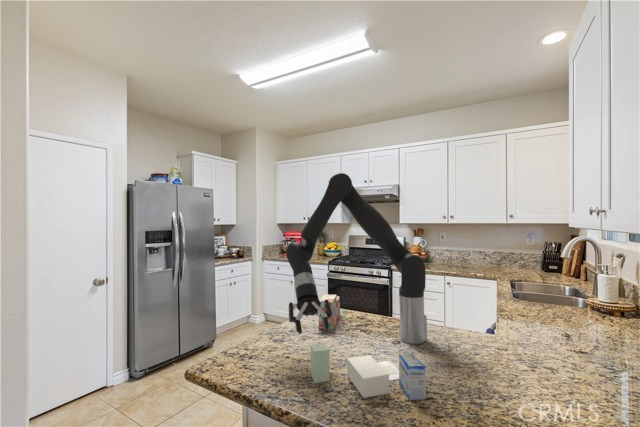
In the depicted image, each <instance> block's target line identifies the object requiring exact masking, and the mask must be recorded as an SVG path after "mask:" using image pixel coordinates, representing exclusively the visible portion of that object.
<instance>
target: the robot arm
mask: <svg viewBox="0 0 640 427" xmlns="http://www.w3.org/2000/svg"><path fill="white" fill-rule="evenodd" d="M340 203H342V204H343V205H344V206H345V207H346V208H347V210H348V211H349V212H350V213H351V215H352V217H353V218H354V219H355V221H356V222H357V224H358V225H359V226H360V227H361V229H362V230H363V231H364V232H365V233H366V235H367V236H368V237H369V238H370V239H371V240H372V241H373V242H374V243H375V244H376V245H377V246H378V248H380V249H381V250H382V251H384V253H385V254H386V256H388V258H389V259H390V260H391V262H392V263H393V265H394V266H395V268H396V269H397V271H398V272H399V273H400V274H401V276H400V277H401V283H400V286H399V289H398V291H399V292H398V296H399V298H398V299H399V335H400V336H399V337H400V338H399V339H400V340H401V341H402V342H403V343H406V344H410V345H411V344H412V345H420V344H423V343H425V342H427V341H428V323H427V322H428V317H427V315H426V314H425V295H424V294H425V289H426V281H427V280H426V278H427V276H426V273H427V272H426V264H425V261H424V259H423V258H422V257H421V256H419V255H416V254H414V253H412V252H411V251H410V250H408V249H407V247H405V246H404V245H403V244H402V243H401V241H400V240H399V239H398V237H397V235H396V234H395V231H394V230H393V228H392V226H391V224H389V222H388V221H387V220H386V219H385V217H384V216H383V215H382V214H381V213H380V212H379V211H378V210H377V209H376V208H375V207H374V206H373V205H371V204H370V203H369V202H368V201H367V200H366V199H364V198H363V197H362V195H361V194H359V192H358V190H356V188H355V187H354V185H353V182H352V179H351V177H350V176H349V175H348V174H347V173H344V172H339V173H338V172H337V173H335V174H333V175H332V176H331V177H330V178H329V180H328V184H327V187H326V190H325V193H324V195H323V196H322V199H321V201H320V202H319V204H318V206H317V207H316V208H315V210H314V212H313V213H312V215H311V216H310V217H309V219H308V221H307V222H306V224H305V225H304V227H303V229H302V231H301V232H300V236H301V237H302V239H304V240H305V241H304V242H305V243H304V244H301V243H300V242H297V241H293V242H290V243H289V244H288V245H287V247H286V251H285V254H286V258H287V261H288V263H289V265H290V267H291V269H292V273H293V278H294V280H293V281H294V291H295V298H296V303H293V302H291V301H290V302H288V321H289V323H294V324H295V330H296V332H297V333H298V335H301V334H303V331H302V330H303V329H302V323H301V319H302V317H303V316H305V317H308V316H317V317H318V318H319V317H320V318H321V319H322V320H323V321H322V322H323V327H324V329H323V331H324V332H327V331H328V330H329V329H328V328H329V324H328V319H330V318H331V315H332V312H331V308H330V305H329V302H328V300H327V299H326V300H325V301H322V302H320V301H319V300H320V299H319V296H318V290H317V284H316V281H315V278H314V275H313V270H312V267H311V264H310V263H309V261H311V259H312V258H313V255H314V251H315V248H316V246H317V241H318V239H320V236H321V235H322V233H323V231H324V229H325V228H326V227H327V224H328V223H329V220H330V219H331V216H332V215H333V212H334V211H335V210H336V209H337V206H338V205H339V204H340ZM320 305H321V306H323V308H325V311H326V313H324V312H323V310H322V309H321V308H320ZM295 309H297V310H298V311H299V312H298V314H297V315H296V316H295V315H294V311H295Z"/></svg>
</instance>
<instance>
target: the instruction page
mask: <svg viewBox="0 0 640 427" xmlns="http://www.w3.org/2000/svg"><path fill="white" fill-rule="evenodd" d="M376 362H377V361H376ZM377 363H378V364H379V365H380V366H381V367H382V368H383V369H384V370H385V371H386V372H387V373H388V374H389V382H393V381H397V380H398V381H399V368H397V367H396V366H395V365H394V364H393V363H392V362H391V361H390V360H384V361H378V362H377Z"/></svg>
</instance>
